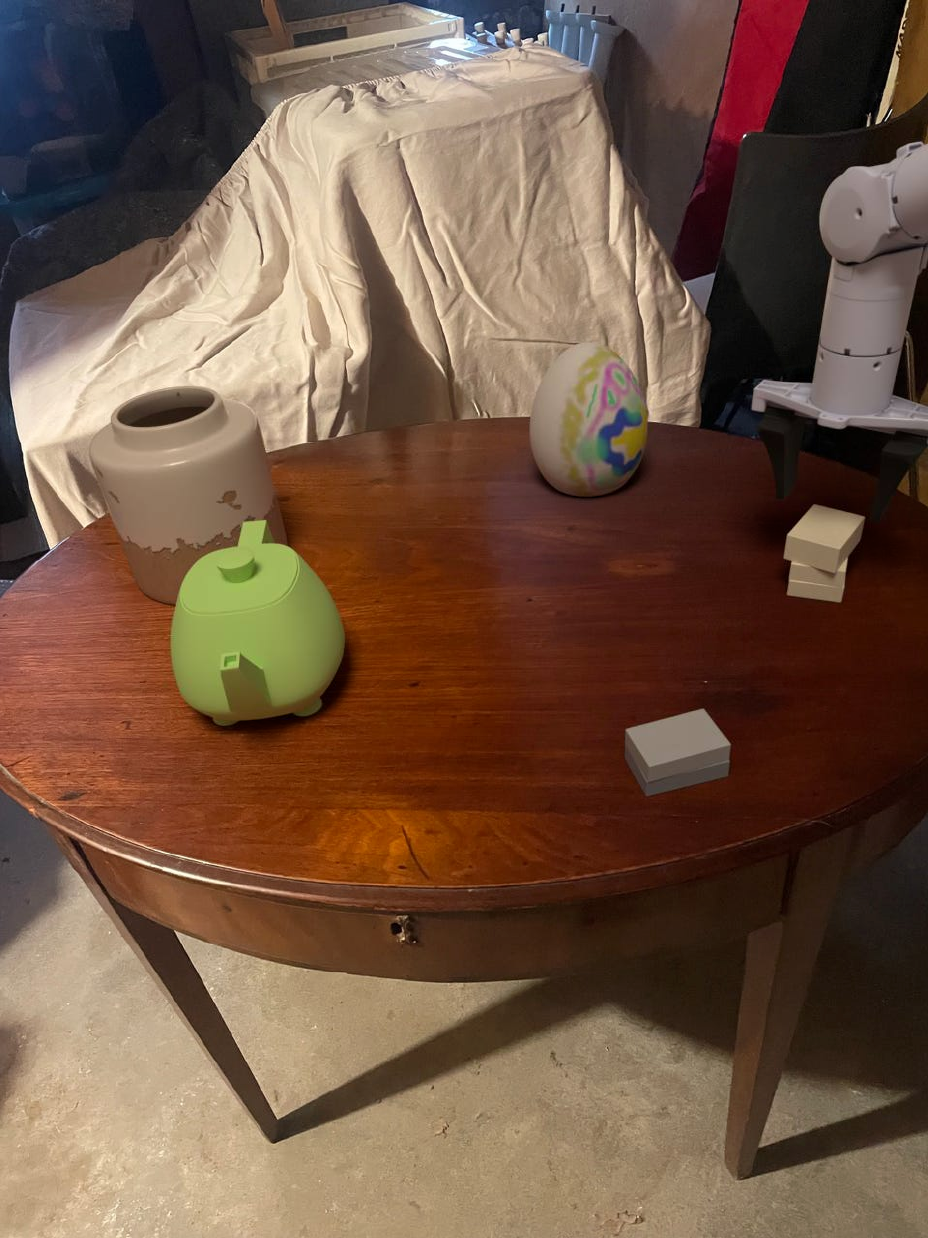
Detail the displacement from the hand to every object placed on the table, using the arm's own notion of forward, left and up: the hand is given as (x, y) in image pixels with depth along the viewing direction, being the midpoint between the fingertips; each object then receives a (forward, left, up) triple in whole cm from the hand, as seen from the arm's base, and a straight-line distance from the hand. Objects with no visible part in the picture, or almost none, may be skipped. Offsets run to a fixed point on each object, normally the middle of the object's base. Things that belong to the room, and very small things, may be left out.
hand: (830, 505), depth 73 cm
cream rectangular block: (0, 0, -4) cm, 4 cm away
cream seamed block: (0, 0, -8) cm, 8 cm away
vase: (+56, +11, -8) cm, 58 cm away
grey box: (+8, +26, -8) cm, 28 cm away
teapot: (+40, +26, -8) cm, 49 cm away
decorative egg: (+24, -14, -8) cm, 29 cm away
